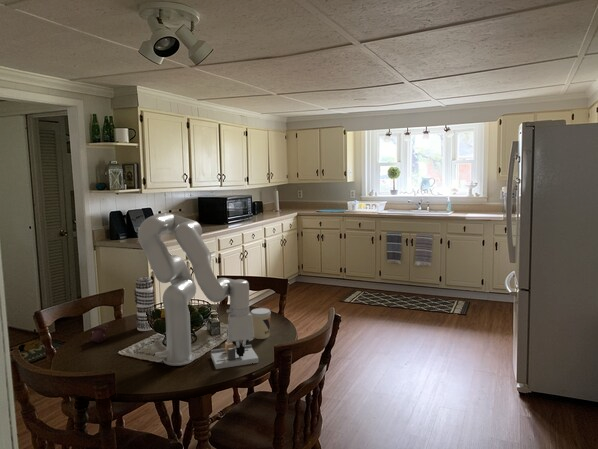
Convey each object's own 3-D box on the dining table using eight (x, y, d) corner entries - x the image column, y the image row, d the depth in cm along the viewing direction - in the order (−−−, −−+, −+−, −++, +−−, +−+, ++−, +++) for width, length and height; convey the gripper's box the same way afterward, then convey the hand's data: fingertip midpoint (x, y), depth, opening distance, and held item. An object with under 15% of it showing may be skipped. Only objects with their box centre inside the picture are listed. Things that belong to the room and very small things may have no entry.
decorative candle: (133, 327, 224) (130, 277, 221) (151, 323, 230) (149, 274, 227) (140, 332, 218) (137, 281, 214) (158, 328, 223) (156, 278, 220)
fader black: (229, 360, 180) (229, 350, 180) (227, 357, 183) (227, 347, 183) (235, 359, 181) (235, 349, 181) (234, 356, 184) (233, 346, 184)
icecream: (101, 334, 199) (115, 325, 214) (84, 329, 199) (99, 321, 214) (97, 349, 199) (111, 339, 214) (80, 345, 199) (96, 335, 214)
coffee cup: (268, 340, 207) (267, 314, 206) (248, 338, 209) (247, 313, 207) (273, 333, 216) (272, 308, 215) (254, 331, 218) (253, 307, 216)
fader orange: (226, 354, 186) (226, 344, 186) (225, 351, 189) (225, 341, 189) (232, 353, 187) (232, 343, 187) (231, 350, 190) (231, 340, 190)
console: (215, 369, 178) (215, 361, 177) (211, 357, 189) (210, 350, 189) (258, 362, 184) (258, 355, 183) (251, 351, 195) (251, 344, 194)
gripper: (222, 316, 175) (223, 361, 177) (260, 311, 180) (261, 356, 182) (219, 310, 182) (220, 354, 184) (255, 306, 187) (256, 349, 189)
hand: (240, 355), depth 183 cm, fingers closed
